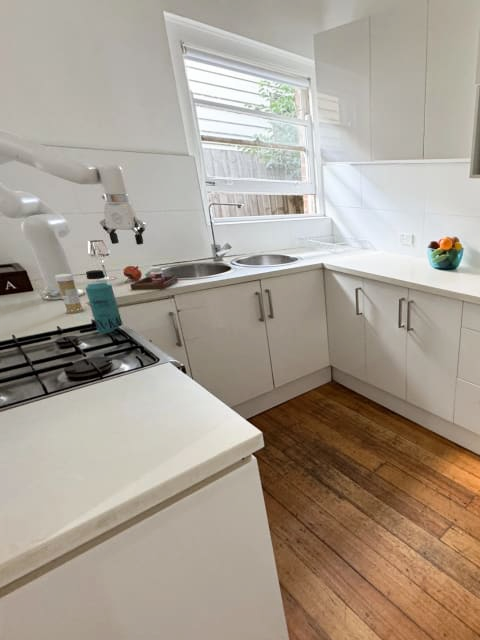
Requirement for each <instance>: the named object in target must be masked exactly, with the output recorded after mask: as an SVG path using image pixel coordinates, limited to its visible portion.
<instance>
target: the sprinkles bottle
mask: <svg viewBox="0 0 480 640" xmlns="http://www.w3.org/2000/svg"><path fill="white" fill-rule="evenodd" d="M55 278H56V281H57V282H58V285H59V288H60V291H61V295H62V298H63V299H62V300H63V304H64V306H65V309H66V313H68V314H76V313H80V312H82V311H83V310H84V309H83V307H82V303H81V300H80V296H78V293H77V290H76V287H75V284H74V280H73V276H72V274H60V275H56V276H55ZM80 308H81V309H80ZM77 309H79V310H77ZM71 310H73V311H71Z"/></svg>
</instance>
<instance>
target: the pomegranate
mask: <svg viewBox="0 0 480 640" xmlns="http://www.w3.org/2000/svg"><path fill="white" fill-rule="evenodd" d="M122 272H123V276H124V277H127V279H126V280H125V283H127V282H128V281H129V280H130V281H135V282H137V281H139V280H141V279H142V276H143V273H142V271H141V270H140V269H139V266H138V265H136V266H133V265H129V266H126V267H125V268H124V269H123V271H122Z"/></svg>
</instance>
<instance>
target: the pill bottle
mask: <svg viewBox="0 0 480 640" xmlns="http://www.w3.org/2000/svg"><path fill="white" fill-rule="evenodd" d="M149 269H150V277H151V278H152V282H153V284H163V283H165V279H164V277H165V276H164V272H163V270H162V267H161V266H152V267H150V268H149Z"/></svg>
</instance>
